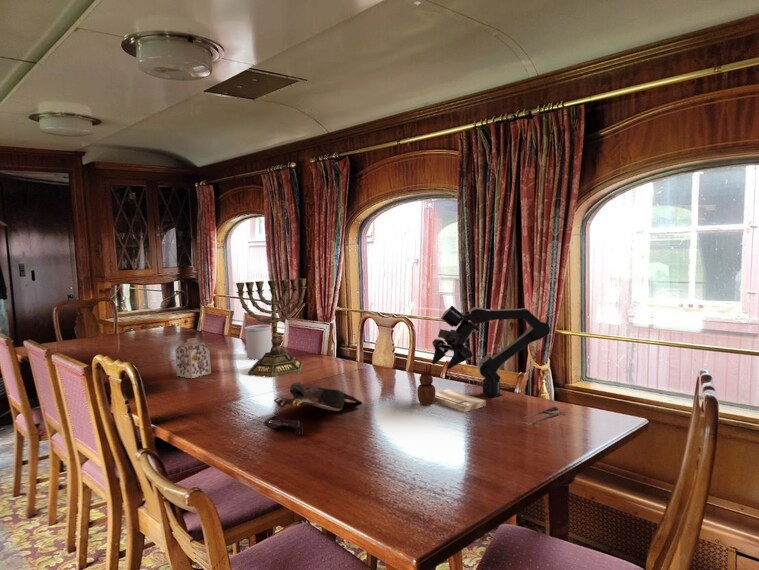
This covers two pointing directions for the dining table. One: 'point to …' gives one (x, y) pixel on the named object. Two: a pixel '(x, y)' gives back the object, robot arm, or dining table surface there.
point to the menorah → (275, 359)
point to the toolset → (309, 403)
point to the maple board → (458, 400)
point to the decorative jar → (193, 359)
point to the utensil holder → (258, 340)
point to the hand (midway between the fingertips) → (440, 366)
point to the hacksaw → (543, 417)
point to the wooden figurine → (426, 388)
